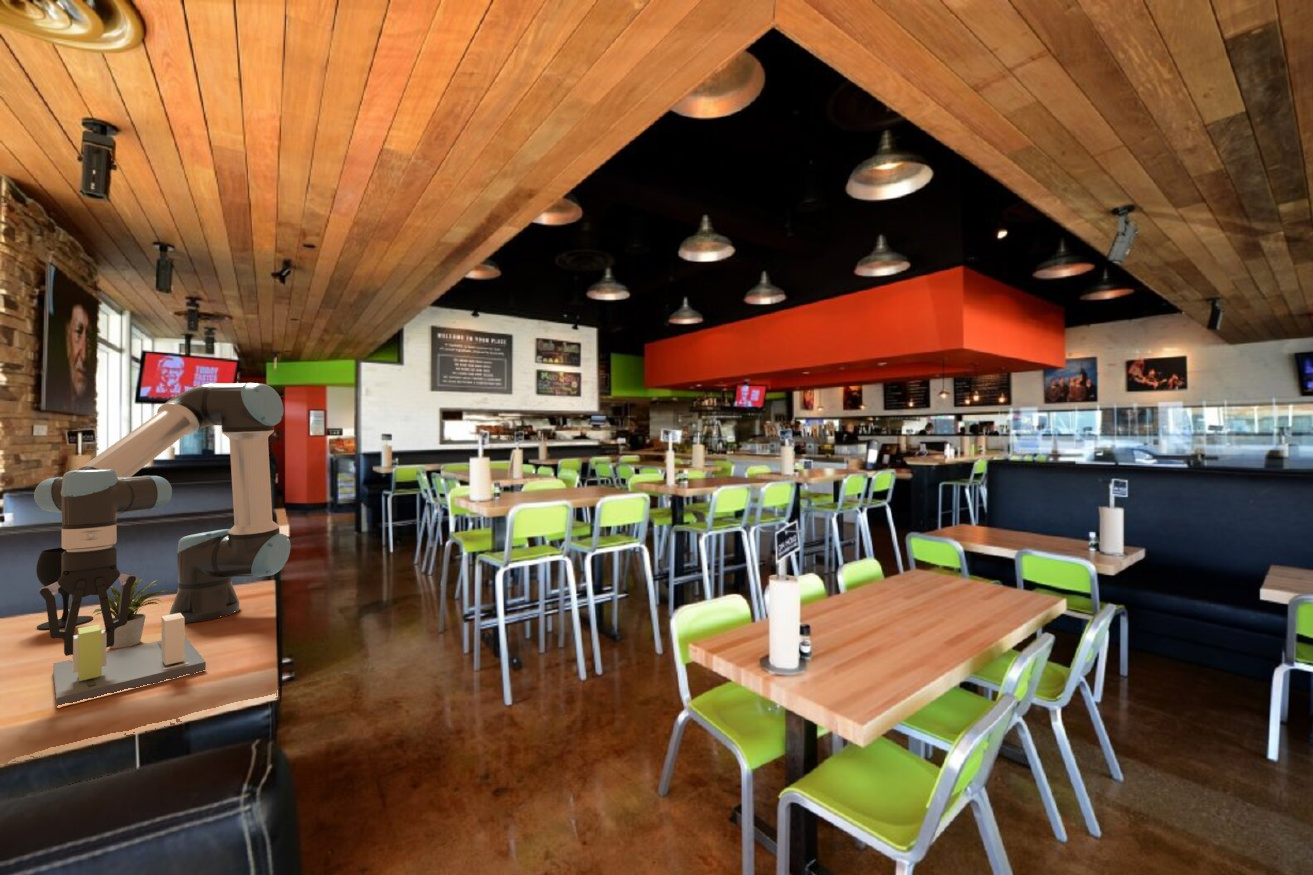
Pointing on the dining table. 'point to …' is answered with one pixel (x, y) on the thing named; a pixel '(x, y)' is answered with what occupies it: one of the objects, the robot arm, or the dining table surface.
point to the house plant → (130, 616)
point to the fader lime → (90, 652)
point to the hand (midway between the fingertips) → (89, 667)
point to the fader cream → (173, 638)
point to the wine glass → (49, 574)
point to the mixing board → (124, 672)
